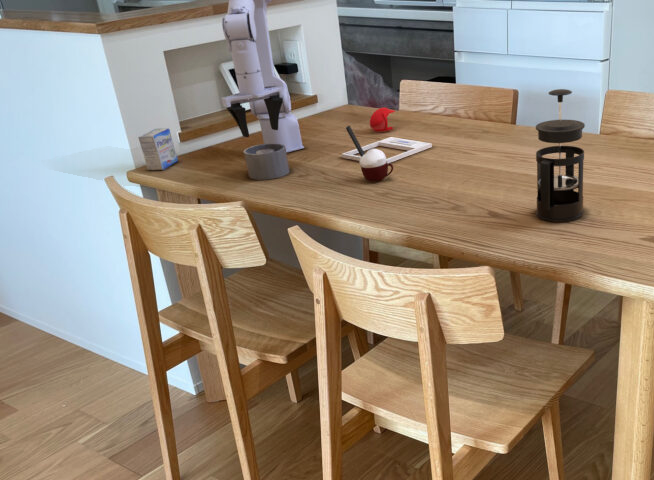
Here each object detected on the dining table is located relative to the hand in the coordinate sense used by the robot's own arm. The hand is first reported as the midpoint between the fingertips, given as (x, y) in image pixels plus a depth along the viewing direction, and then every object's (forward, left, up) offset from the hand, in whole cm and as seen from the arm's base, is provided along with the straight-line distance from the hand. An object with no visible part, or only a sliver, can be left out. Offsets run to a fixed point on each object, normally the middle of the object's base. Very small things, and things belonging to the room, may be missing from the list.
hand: (260, 132), depth 179 cm
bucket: (0, 0, -10) cm, 10 cm away
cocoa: (-14, +25, -10) cm, 30 cm away
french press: (-24, +74, -10) cm, 79 cm away
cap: (-42, -11, -10) cm, 44 cm away
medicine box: (+15, -30, -10) cm, 35 cm away
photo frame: (-29, +9, -10) cm, 32 cm away
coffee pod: (0, 0, -9) cm, 9 cm away
